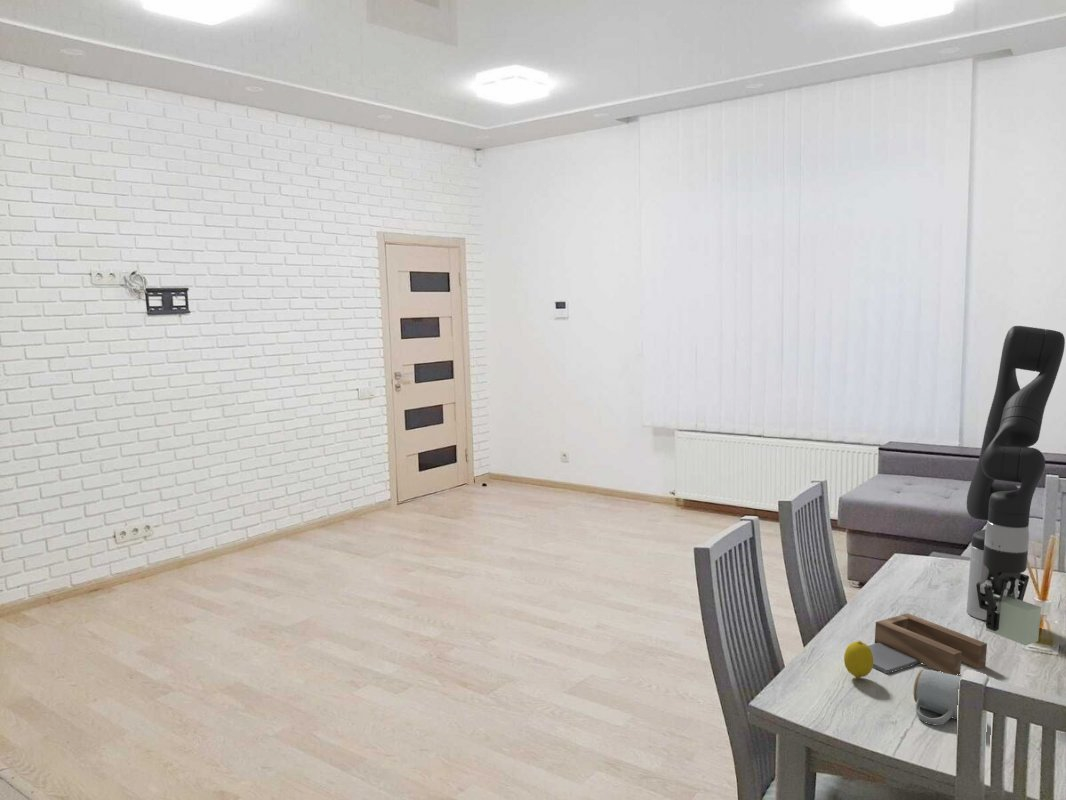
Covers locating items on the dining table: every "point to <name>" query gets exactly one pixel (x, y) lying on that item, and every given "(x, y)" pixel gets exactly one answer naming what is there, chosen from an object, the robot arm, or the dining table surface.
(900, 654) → the slate coaster
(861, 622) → the dining table surface
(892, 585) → the dining table surface
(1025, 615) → the sage block
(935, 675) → the ceramic mug
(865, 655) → the lemon
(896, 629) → the rail
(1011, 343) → the robot arm
